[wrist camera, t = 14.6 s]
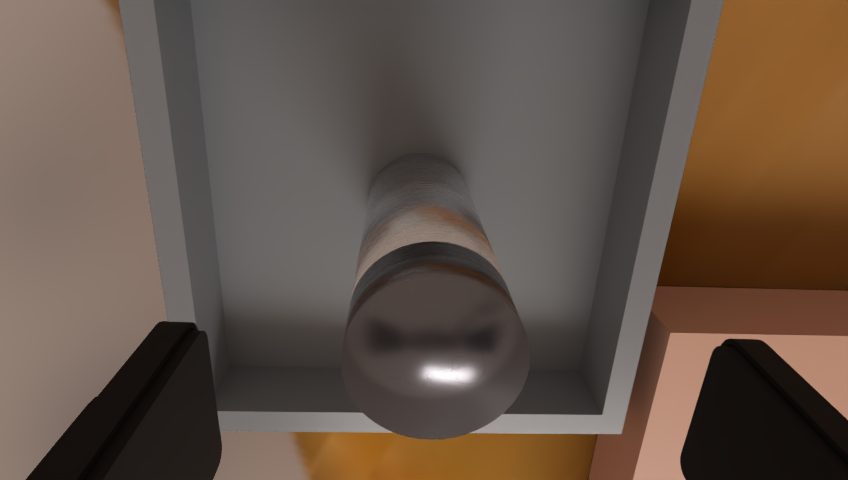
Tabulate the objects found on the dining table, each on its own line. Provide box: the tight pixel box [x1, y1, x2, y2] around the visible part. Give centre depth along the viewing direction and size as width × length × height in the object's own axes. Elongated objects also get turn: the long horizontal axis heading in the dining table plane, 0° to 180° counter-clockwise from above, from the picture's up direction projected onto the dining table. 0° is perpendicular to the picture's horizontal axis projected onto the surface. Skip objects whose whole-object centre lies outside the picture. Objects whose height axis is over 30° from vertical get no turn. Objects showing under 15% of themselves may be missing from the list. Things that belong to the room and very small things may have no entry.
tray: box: [118, 0, 724, 434], centre depth 21 cm, size 18×18×4 cm
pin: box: [341, 153, 530, 439], centre depth 16 cm, size 4×4×11 cm
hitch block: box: [588, 286, 848, 480], centre depth 26 cm, size 16×16×4 cm
